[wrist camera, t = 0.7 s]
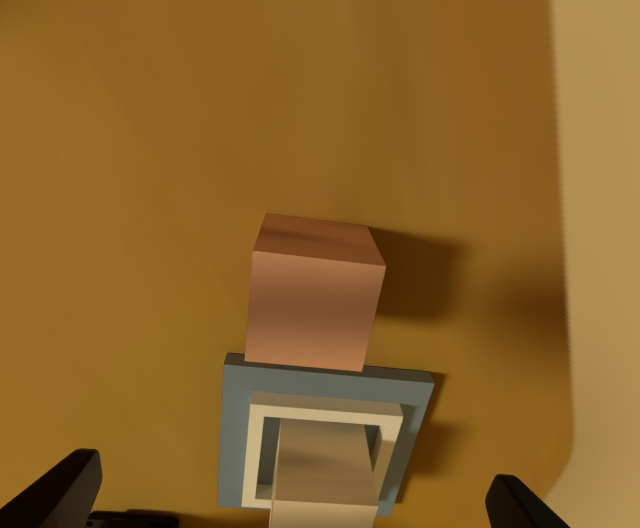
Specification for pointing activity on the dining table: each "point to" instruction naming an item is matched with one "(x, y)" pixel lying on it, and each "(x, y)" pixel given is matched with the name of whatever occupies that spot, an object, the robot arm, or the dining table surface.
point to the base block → (322, 476)
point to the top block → (312, 293)
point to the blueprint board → (314, 404)
